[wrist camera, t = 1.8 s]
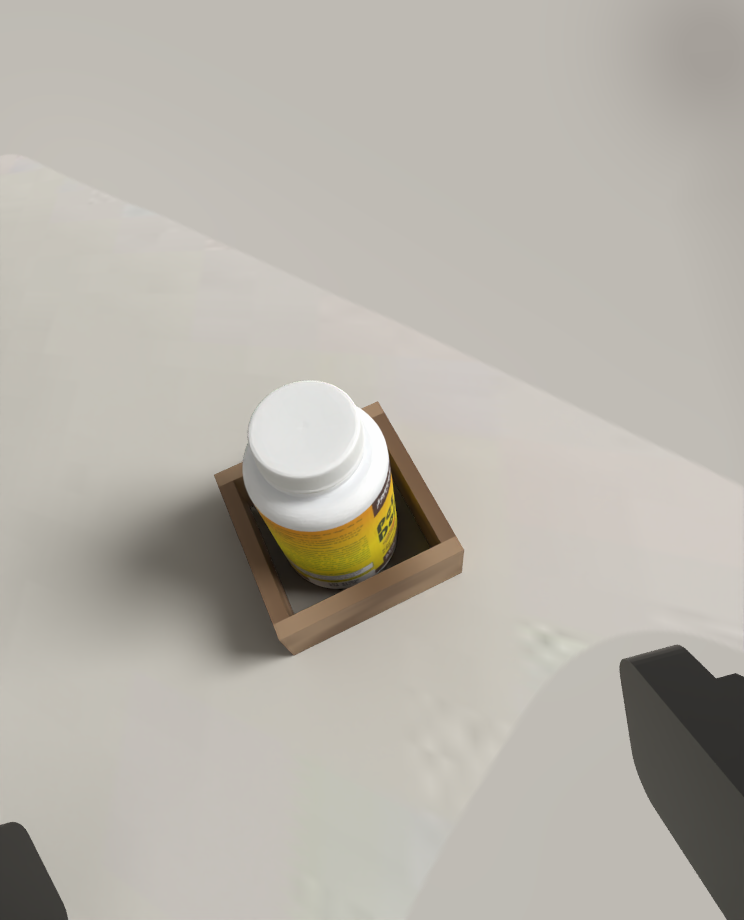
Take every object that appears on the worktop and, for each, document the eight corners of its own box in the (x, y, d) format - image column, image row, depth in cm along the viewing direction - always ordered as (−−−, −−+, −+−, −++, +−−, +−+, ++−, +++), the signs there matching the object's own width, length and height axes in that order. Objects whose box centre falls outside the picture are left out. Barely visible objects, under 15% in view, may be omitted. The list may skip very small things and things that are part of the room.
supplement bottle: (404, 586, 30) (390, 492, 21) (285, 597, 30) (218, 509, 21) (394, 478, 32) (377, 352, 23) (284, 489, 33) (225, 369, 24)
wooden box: (293, 655, 29) (279, 640, 26) (232, 501, 33) (214, 474, 30) (461, 572, 30) (463, 549, 27) (382, 432, 34) (377, 401, 31)
